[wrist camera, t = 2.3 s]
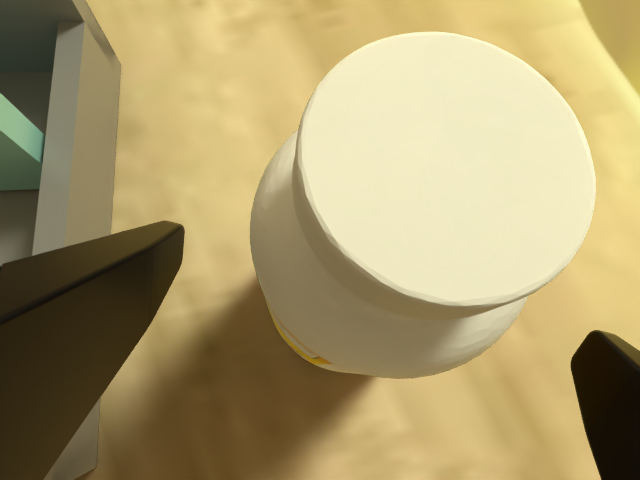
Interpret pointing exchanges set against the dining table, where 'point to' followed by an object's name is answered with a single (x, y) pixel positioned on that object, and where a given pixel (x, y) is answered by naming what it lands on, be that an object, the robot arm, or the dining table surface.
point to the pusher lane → (61, 148)
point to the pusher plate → (19, 149)
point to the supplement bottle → (419, 206)
